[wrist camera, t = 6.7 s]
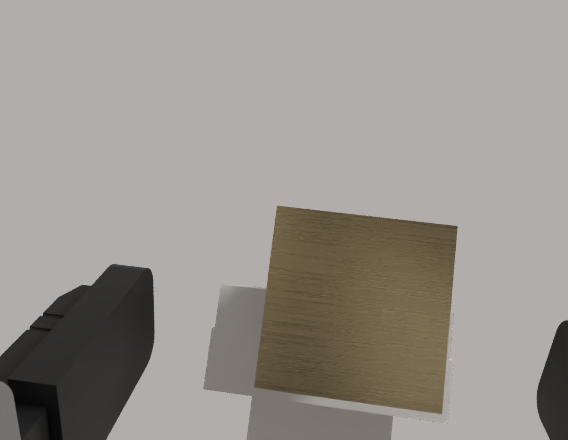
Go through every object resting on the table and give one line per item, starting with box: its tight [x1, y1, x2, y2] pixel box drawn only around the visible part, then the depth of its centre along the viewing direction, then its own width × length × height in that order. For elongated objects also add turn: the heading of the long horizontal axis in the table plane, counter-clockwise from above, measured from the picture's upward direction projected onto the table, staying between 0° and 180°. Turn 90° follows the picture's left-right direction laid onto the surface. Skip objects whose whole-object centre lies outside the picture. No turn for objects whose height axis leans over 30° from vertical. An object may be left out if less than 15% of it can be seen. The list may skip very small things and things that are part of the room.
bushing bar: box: [254, 206, 457, 414], centre depth 20 cm, size 3×23×3 cm, turn 176°
